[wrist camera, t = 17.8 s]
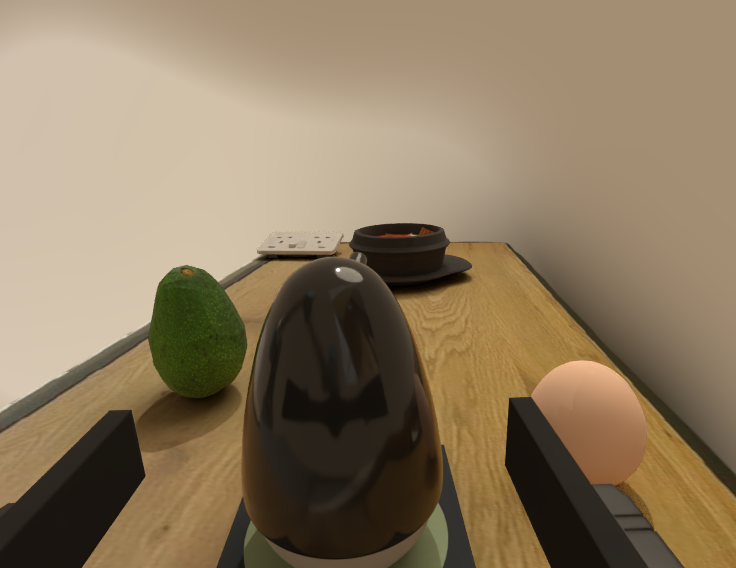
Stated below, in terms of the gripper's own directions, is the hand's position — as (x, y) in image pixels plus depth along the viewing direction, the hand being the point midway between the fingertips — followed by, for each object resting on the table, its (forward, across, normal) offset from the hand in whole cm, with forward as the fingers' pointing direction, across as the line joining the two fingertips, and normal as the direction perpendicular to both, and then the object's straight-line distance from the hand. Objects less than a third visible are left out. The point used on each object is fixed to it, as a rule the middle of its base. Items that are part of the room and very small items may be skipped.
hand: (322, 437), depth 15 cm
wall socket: (+80, -13, -11) cm, 82 cm away
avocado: (+22, -13, -11) cm, 28 cm away
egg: (+10, +15, -11) cm, 21 cm away
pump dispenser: (+6, 0, -10) cm, 12 cm away
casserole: (+59, +7, -11) cm, 60 cm away
